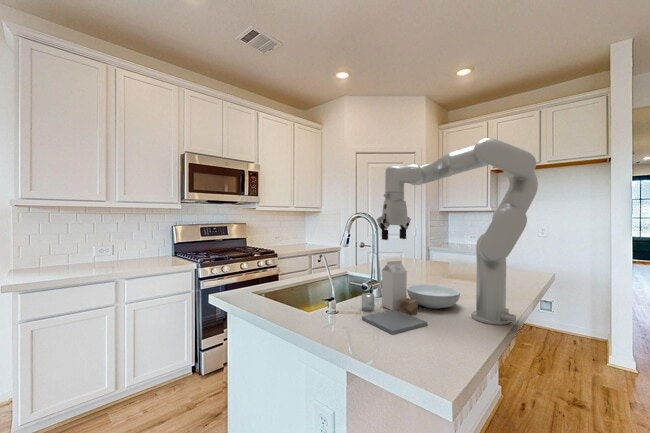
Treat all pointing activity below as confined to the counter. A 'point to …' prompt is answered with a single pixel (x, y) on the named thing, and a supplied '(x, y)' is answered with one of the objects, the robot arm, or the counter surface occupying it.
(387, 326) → the plate
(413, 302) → the walnut block
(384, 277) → the milk carton
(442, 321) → the counter surface
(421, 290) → the serving bowl
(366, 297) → the glass jar
